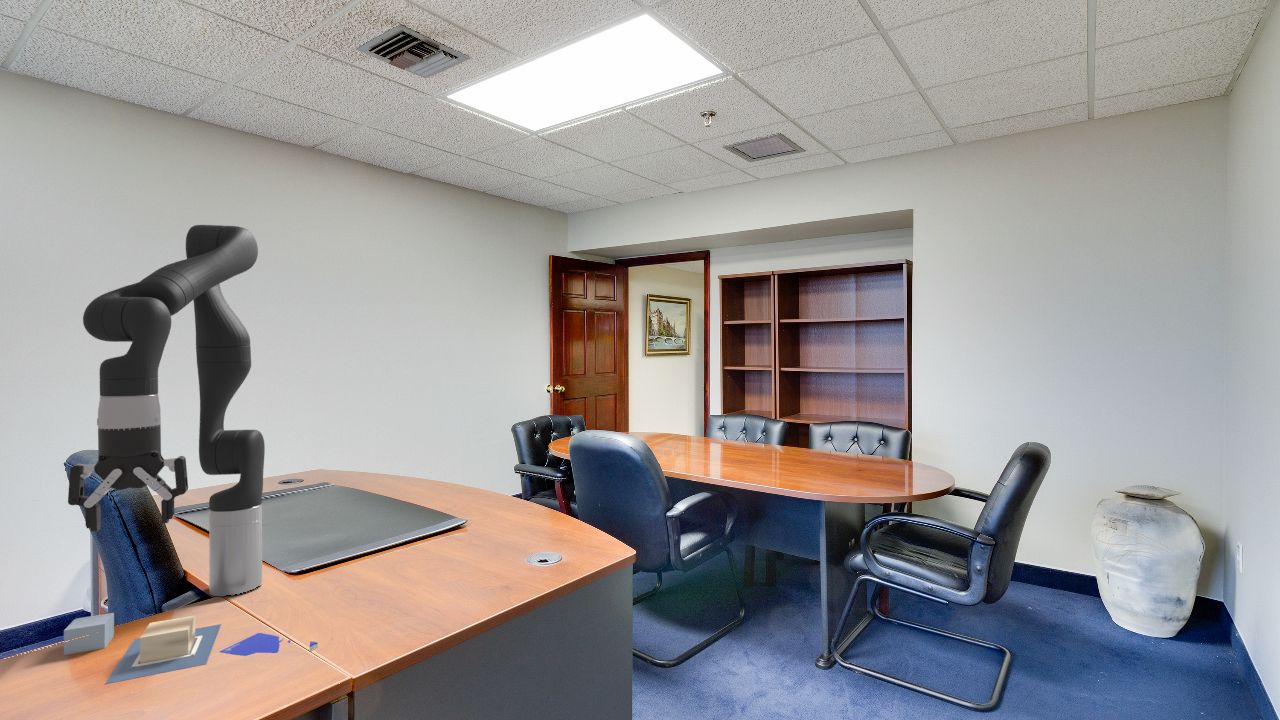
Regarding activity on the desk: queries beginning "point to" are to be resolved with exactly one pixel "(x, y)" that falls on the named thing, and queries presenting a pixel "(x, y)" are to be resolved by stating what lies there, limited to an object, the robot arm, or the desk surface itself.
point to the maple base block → (167, 639)
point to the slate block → (89, 633)
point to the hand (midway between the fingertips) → (131, 526)
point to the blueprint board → (196, 657)
